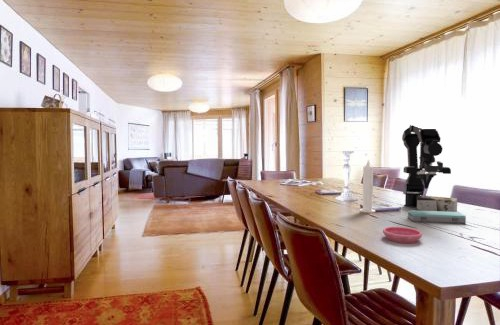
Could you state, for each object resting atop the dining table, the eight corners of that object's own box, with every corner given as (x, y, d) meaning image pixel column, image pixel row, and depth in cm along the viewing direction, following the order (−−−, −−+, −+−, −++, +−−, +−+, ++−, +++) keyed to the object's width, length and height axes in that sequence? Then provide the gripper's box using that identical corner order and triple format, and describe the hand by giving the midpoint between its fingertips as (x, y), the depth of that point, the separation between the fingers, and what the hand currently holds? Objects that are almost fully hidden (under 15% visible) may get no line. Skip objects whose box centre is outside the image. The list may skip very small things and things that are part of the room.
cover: (407, 212, 148) (408, 210, 148) (457, 213, 145) (457, 211, 145) (413, 216, 140) (413, 214, 140) (465, 217, 137) (465, 215, 137)
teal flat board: (407, 217, 148) (407, 212, 148) (457, 219, 145) (457, 213, 145) (413, 222, 140) (413, 216, 140) (466, 224, 136) (466, 218, 136)
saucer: (388, 232, 124) (389, 224, 124) (425, 238, 117) (426, 229, 116) (377, 240, 115) (377, 231, 115) (417, 247, 107) (417, 237, 107)
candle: (376, 213, 158) (377, 160, 156) (360, 212, 159) (361, 160, 158) (373, 210, 165) (374, 159, 163) (358, 209, 166) (359, 159, 165)
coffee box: (454, 200, 154) (416, 197, 164) (454, 214, 155) (416, 210, 165) (457, 197, 162) (420, 194, 172) (457, 211, 162) (420, 207, 172)
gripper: (410, 155, 148) (409, 190, 148) (456, 155, 144) (455, 191, 145) (403, 154, 158) (402, 187, 159) (446, 154, 155) (445, 188, 156)
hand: (426, 188), depth 155 cm, fingers closed
